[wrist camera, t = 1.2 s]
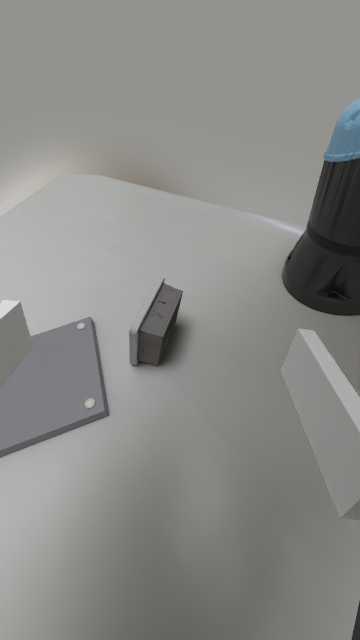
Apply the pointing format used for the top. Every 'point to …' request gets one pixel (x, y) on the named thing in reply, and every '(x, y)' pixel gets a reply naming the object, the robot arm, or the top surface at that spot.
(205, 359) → the top surface
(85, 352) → the mounting plate
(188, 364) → the top surface
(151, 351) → the electrical switch
